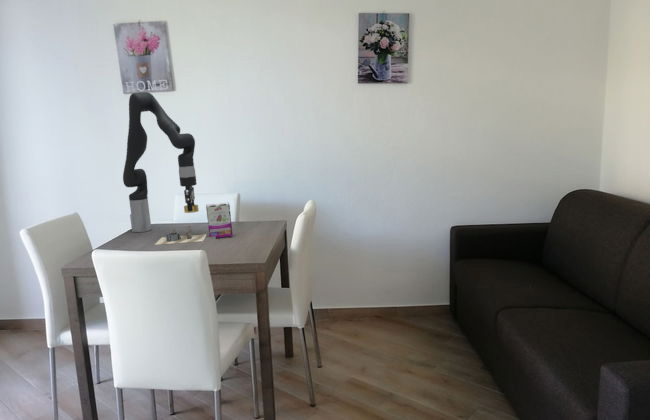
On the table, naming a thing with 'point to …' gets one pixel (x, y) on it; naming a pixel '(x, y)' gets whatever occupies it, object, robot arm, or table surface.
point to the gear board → (182, 237)
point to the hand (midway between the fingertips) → (191, 209)
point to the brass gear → (194, 207)
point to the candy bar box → (219, 220)
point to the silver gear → (173, 237)
